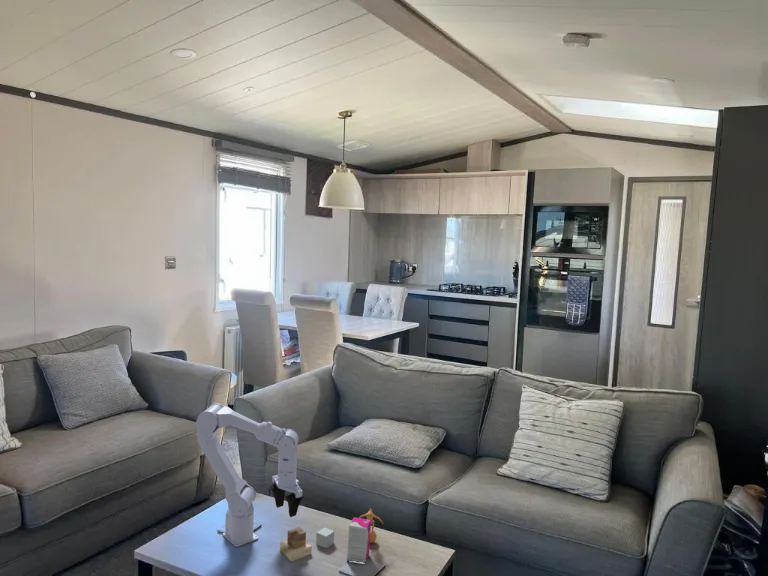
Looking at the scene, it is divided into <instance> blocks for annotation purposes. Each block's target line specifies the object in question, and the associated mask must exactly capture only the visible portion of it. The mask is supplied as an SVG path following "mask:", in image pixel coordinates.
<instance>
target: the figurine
mask: <svg viewBox="0 0 768 576" xmlns="http://www.w3.org/2000/svg"><path fill="white" fill-rule="evenodd" d="M364 517H366V519H368V520H371V531H370V544H373V543H374V542H376V540H377V532H376V531H375V530H374V528H375V527H374V526H375V520H373V518H375V519H376V520H379V521H380V523H382V525H384V522H383V520H382V519H381V518H380V517H379V516H377V515H375V514H374V512H373V510H372V508H370V509H369V510H368V512H366V513H365V514H361V515H359V517H358V518H364Z"/></svg>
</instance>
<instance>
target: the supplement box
mask: <svg viewBox="0 0 768 576" xmlns="http://www.w3.org/2000/svg"><path fill="white" fill-rule="evenodd" d="M371 530H372V524H371V520H368V519H367V518H363V517H361V518H359V517H355V516H354V517H353V518H352V520H351V521H350V524H349V527H348V539H347V541H348V542H347V553H346V554H347V556H346V562H347V563H349V561H356V562H363V563H365V562H366V563H367V560H368V558H369V555H370V546H371V545H370V544H371V543H370V531H371ZM366 559H367V560H366ZM366 563H365V564H366Z"/></svg>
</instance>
